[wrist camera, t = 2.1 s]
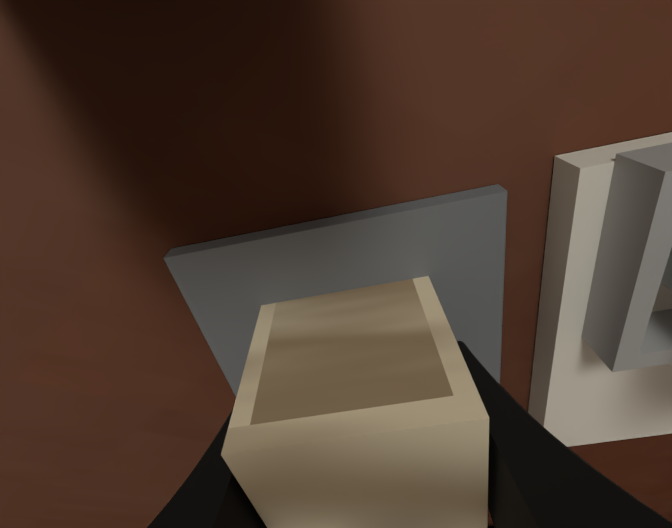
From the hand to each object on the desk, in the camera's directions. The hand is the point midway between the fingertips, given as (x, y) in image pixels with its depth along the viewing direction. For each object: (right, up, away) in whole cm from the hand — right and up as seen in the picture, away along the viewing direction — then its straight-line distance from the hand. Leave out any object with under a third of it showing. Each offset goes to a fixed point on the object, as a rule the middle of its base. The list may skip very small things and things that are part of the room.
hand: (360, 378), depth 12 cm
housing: (0, +1, +1) cm, 1 cm away
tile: (0, +1, +2) cm, 2 cm away
